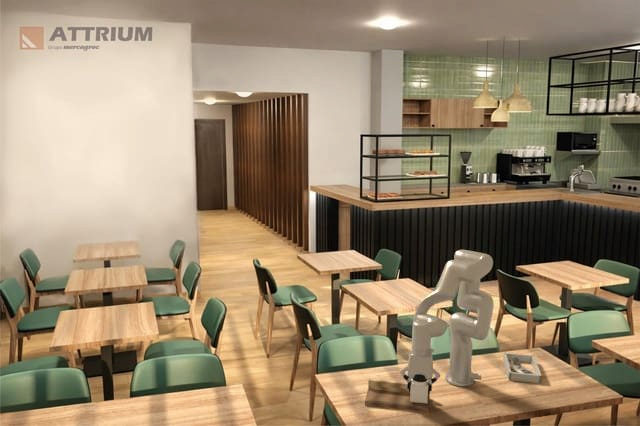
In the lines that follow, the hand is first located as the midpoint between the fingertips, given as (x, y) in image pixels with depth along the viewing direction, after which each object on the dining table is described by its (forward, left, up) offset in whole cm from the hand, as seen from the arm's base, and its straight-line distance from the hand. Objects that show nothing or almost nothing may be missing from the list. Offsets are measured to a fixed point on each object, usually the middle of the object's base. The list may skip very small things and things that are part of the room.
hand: (419, 391), depth 229 cm
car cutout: (-46, -44, -6) cm, 64 cm away
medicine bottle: (0, 0, -4) cm, 4 cm away
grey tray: (-46, -44, -6) cm, 64 cm away
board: (+9, -1, -6) cm, 11 cm away
